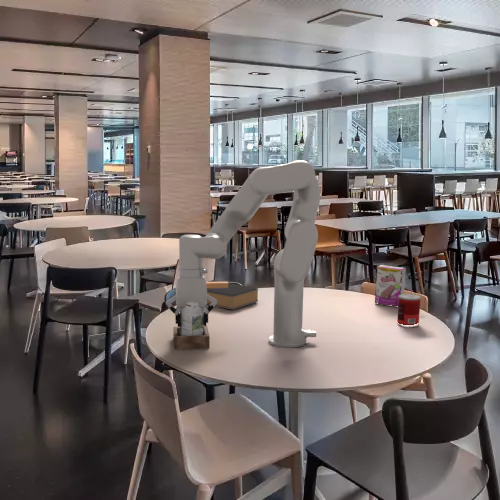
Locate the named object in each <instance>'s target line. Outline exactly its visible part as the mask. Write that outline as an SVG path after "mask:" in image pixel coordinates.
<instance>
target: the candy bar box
mask: <svg viewBox="0 0 500 500" xmlns="http://www.w3.org/2000/svg"><path fill="white" fill-rule="evenodd" d="M406 270H407V269H406V267H401V266H399V267H398V266H391V265H385V264H380V265H377V266H376V277H375V280H376V281H375V296H374V304H375V303H378V304H377V305H380V304H383V305H382V306H386V305H392V306H398V299H399V295H401V294H405V285H406V273H407V272H406ZM392 306H391V307H392Z"/></svg>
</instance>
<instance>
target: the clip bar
mask: <svg viewBox="0 0 500 500" xmlns="http://www.w3.org/2000/svg"><path fill="white" fill-rule="evenodd" d="M228 283H229V281H220V282H208V281H206V286H207V288H228Z"/></svg>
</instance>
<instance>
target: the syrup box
mask: <svg viewBox="0 0 500 500" xmlns="http://www.w3.org/2000/svg"><path fill="white" fill-rule="evenodd" d="M179 313H180V336H196V335H204V310H203V309H202V308H200V307H199V306H198V303H197V302H187V303H186V308H182V309H181V310H180V312H179Z"/></svg>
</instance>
